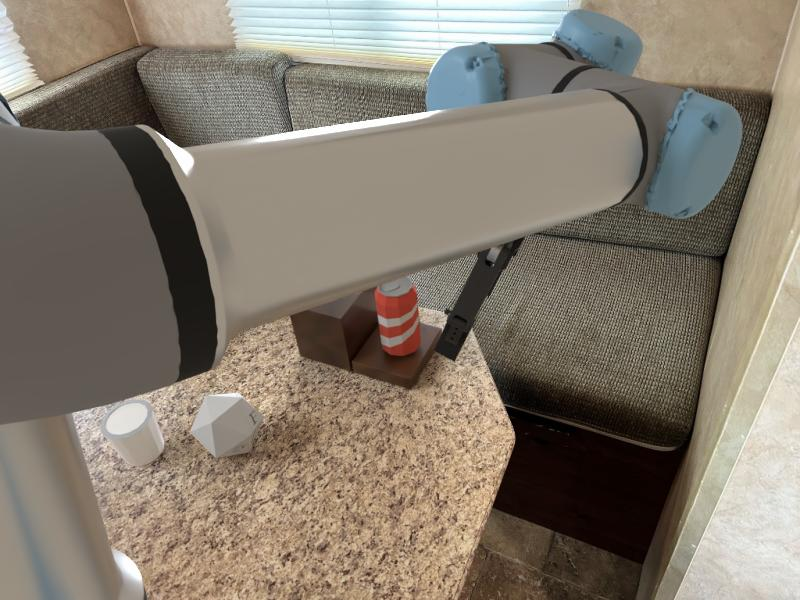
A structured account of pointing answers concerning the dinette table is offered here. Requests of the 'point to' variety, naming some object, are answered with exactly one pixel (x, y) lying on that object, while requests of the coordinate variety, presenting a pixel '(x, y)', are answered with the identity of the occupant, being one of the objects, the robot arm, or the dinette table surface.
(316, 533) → the dinette table surface
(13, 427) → the robot arm
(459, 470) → the dinette table surface
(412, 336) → the beverage can
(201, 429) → the die
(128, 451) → the shot glass
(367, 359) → the wooden l-shaped step
